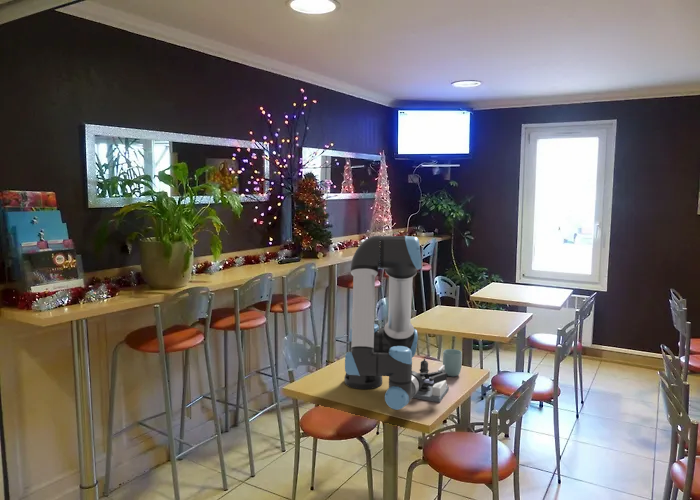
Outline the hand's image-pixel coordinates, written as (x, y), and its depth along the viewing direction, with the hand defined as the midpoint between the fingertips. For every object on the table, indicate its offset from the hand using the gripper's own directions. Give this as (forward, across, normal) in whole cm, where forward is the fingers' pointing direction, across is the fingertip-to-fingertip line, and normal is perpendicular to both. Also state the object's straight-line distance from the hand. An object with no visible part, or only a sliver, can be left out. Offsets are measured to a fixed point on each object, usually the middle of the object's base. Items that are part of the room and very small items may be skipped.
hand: (426, 365), depth 203 cm
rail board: (-3, 0, -10) cm, 10 cm away
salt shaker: (-4, 0, -8) cm, 9 cm away
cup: (+21, +5, -10) cm, 23 cm away
